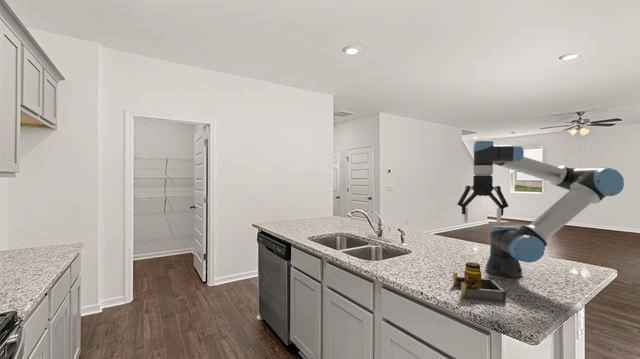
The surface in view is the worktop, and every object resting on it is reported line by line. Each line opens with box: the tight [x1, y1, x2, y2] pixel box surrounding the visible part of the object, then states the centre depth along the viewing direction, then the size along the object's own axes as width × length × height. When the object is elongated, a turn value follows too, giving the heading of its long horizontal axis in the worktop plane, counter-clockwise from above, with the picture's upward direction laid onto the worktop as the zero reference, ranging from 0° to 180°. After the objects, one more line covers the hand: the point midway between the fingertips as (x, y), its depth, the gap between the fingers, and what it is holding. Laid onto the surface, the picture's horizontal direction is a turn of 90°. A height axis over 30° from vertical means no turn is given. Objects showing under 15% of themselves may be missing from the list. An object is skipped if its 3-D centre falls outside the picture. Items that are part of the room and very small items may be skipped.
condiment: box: [463, 261, 482, 289], centre depth 117 cm, size 7×8×12 cm
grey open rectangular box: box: [452, 271, 507, 303], centre depth 116 cm, size 16×14×6 cm
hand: (482, 222), depth 129 cm, fingers open, 13 cm apart
